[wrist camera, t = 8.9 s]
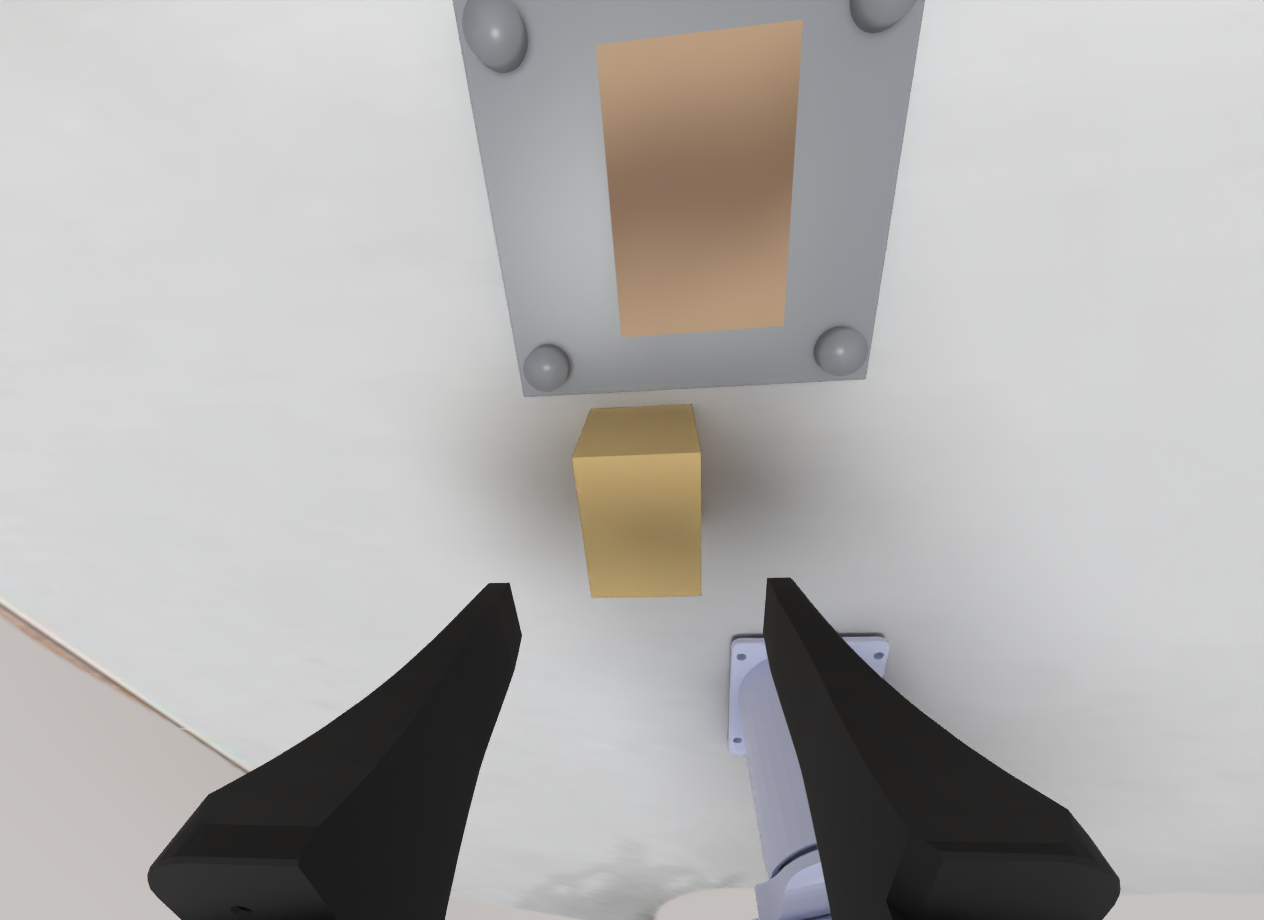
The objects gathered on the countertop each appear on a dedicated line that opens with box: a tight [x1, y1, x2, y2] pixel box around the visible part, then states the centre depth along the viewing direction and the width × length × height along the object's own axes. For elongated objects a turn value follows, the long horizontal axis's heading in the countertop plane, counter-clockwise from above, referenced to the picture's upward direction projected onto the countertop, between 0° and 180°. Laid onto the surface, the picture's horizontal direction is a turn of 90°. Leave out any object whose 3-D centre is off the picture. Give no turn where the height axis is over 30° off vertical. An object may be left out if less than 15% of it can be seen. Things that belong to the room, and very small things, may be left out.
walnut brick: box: [596, 19, 803, 337], centre depth 13 cm, size 6×4×5 cm
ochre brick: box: [572, 404, 701, 598], centre depth 18 cm, size 6×4×5 cm
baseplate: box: [453, 0, 925, 397], centre depth 15 cm, size 12×13×2 cm
